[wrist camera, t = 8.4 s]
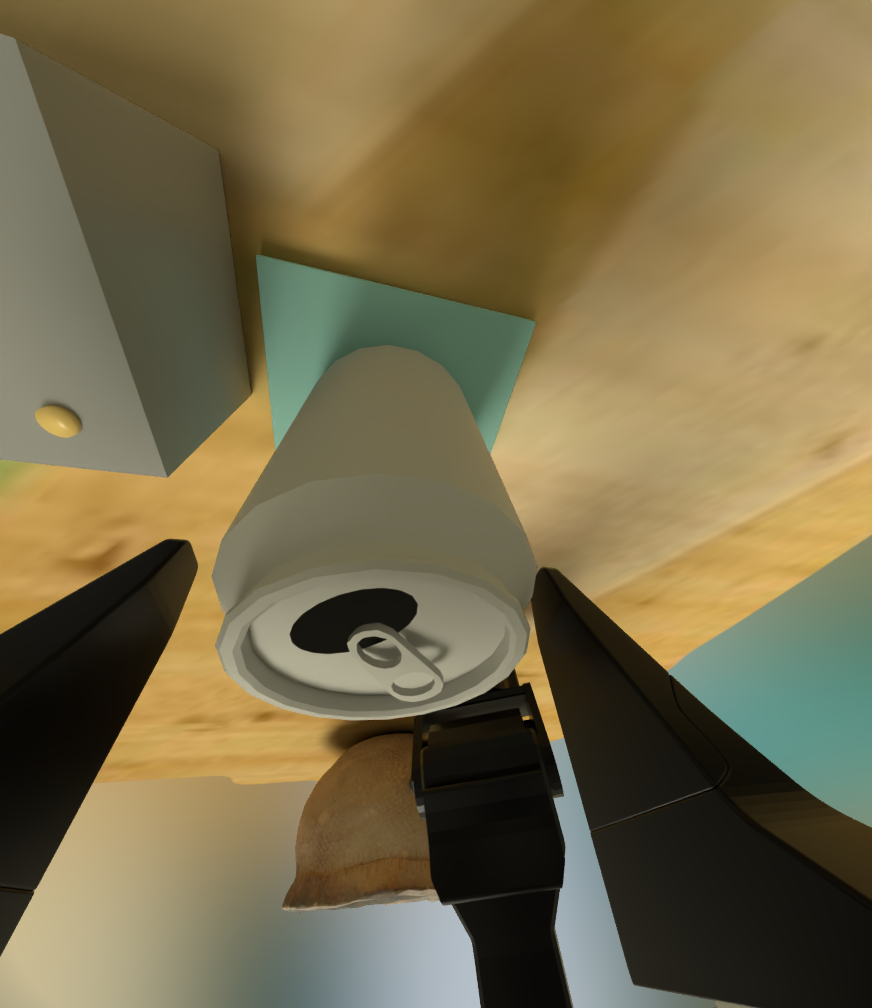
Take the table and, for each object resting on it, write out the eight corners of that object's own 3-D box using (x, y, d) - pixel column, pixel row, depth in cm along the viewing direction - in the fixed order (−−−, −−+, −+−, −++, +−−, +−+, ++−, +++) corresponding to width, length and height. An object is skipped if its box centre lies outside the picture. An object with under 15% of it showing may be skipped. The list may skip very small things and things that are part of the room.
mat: (531, 319, 14) (536, 322, 14) (466, 511, 21) (467, 517, 20) (261, 254, 12) (255, 254, 12) (283, 491, 19) (280, 497, 18)
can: (409, 299, 13) (443, 442, 3) (492, 440, 17) (607, 675, 8) (276, 403, 15) (67, 672, 5) (379, 506, 19) (361, 755, 10)
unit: (218, 149, 10) (2, 30, 5) (251, 394, 15) (163, 481, 9) (-79, 63, 9) (-911, -263, 3) (60, 364, 14) (-179, 444, 8)
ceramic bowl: (459, 757, 54) (476, 897, 43) (327, 771, 52) (307, 921, 41) (472, 704, 41) (501, 889, 29) (293, 720, 39) (248, 925, 27)
